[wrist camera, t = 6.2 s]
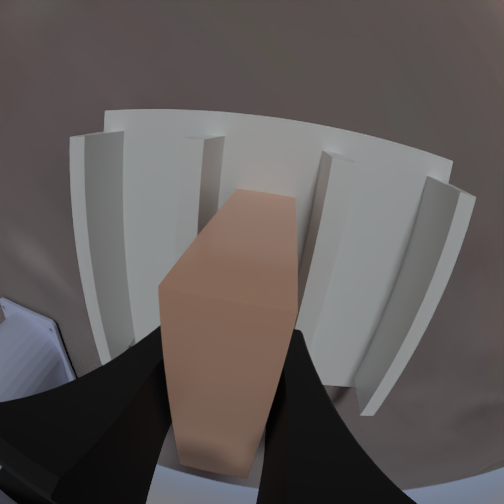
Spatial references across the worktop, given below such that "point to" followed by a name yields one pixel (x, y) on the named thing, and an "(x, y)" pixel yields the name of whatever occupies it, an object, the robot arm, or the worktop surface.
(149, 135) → the dish rack
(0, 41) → the worktop surface
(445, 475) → the worktop surface
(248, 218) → the tile
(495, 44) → the worktop surface
